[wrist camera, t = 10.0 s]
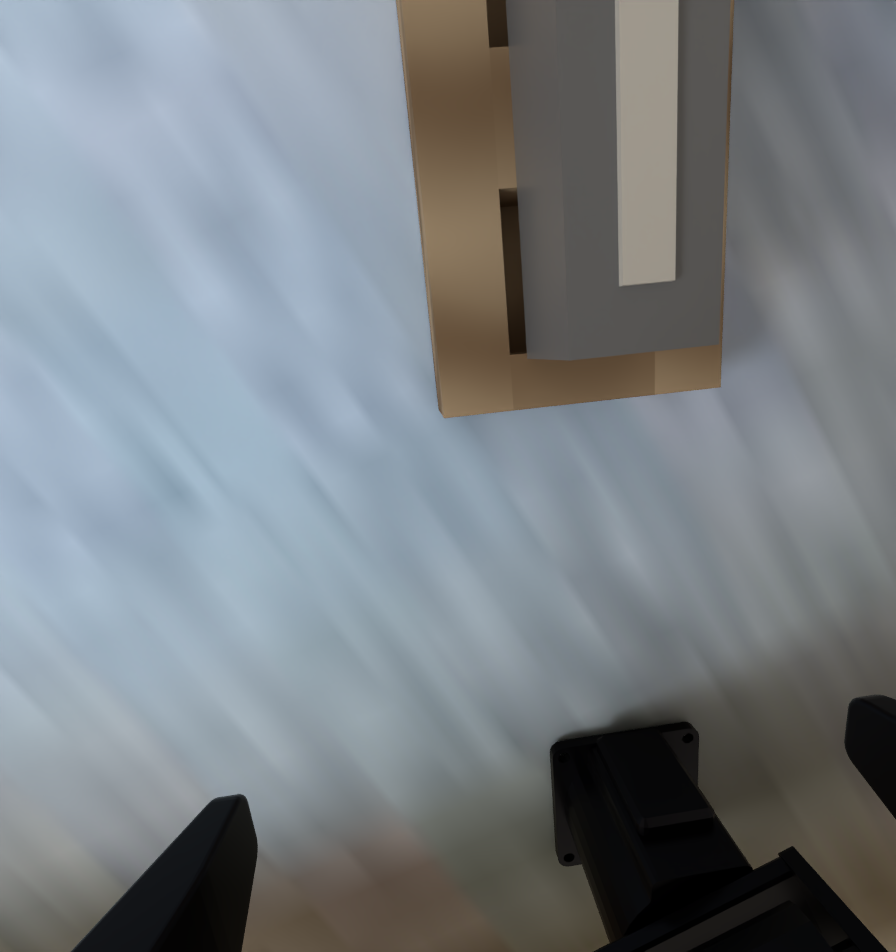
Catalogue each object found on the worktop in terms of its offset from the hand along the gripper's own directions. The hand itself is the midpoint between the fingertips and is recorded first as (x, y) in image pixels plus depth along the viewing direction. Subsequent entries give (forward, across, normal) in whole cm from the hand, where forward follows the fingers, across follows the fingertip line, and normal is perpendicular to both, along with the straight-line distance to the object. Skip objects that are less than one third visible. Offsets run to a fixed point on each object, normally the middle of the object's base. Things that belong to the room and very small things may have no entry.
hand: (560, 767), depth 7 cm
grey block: (+12, -4, -12) cm, 17 cm away
